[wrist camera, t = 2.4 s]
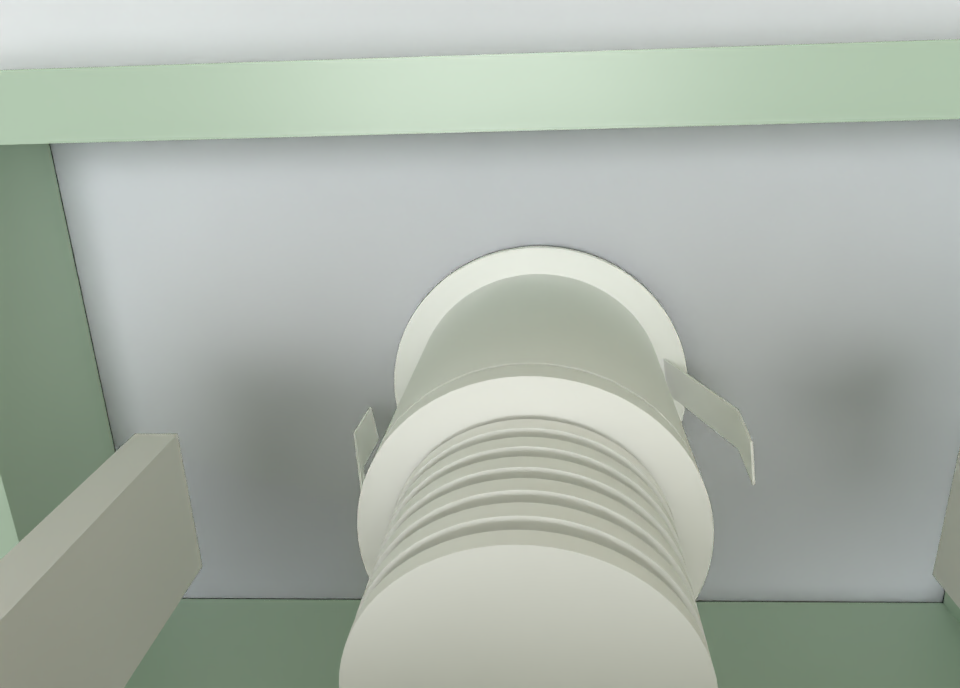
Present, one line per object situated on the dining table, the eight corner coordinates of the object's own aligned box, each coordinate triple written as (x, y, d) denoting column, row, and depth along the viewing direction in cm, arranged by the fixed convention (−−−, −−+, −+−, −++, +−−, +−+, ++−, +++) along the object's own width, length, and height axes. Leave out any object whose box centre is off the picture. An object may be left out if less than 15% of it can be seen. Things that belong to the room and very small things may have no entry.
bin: (113, 633, 21) (27, 751, 18) (-20, 75, 16) (-178, 76, 13) (980, 640, 20) (1087, 769, 16) (1124, 39, 15) (1325, 27, 11)
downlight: (694, 218, 17) (872, 405, 7) (715, 491, 19) (872, 897, 10) (351, 269, 18) (130, 487, 9) (409, 520, 20) (286, 910, 11)
